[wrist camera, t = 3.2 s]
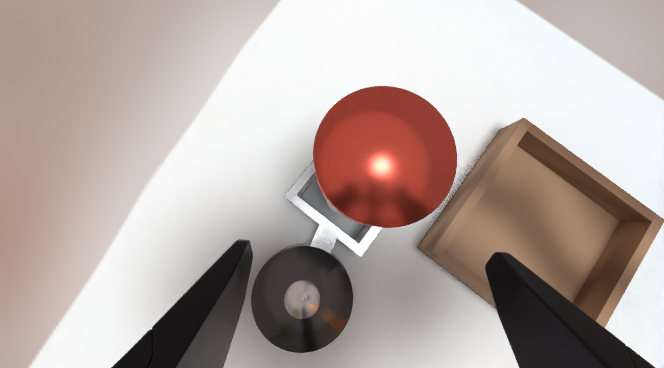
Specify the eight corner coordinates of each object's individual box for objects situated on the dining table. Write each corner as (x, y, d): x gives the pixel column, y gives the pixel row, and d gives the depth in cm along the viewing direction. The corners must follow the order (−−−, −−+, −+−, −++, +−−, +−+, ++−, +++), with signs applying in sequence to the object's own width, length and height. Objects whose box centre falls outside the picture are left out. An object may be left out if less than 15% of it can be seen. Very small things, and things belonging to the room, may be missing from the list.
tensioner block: (311, 363, 18) (309, 386, 16) (218, 286, 19) (202, 296, 16) (427, 201, 20) (442, 199, 17) (340, 135, 20) (342, 123, 18)
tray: (547, 348, 19) (581, 368, 16) (417, 247, 19) (431, 251, 17) (623, 219, 20) (664, 220, 18) (500, 129, 21) (524, 117, 19)
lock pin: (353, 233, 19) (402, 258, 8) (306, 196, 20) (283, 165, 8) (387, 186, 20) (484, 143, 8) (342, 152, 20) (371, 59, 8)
